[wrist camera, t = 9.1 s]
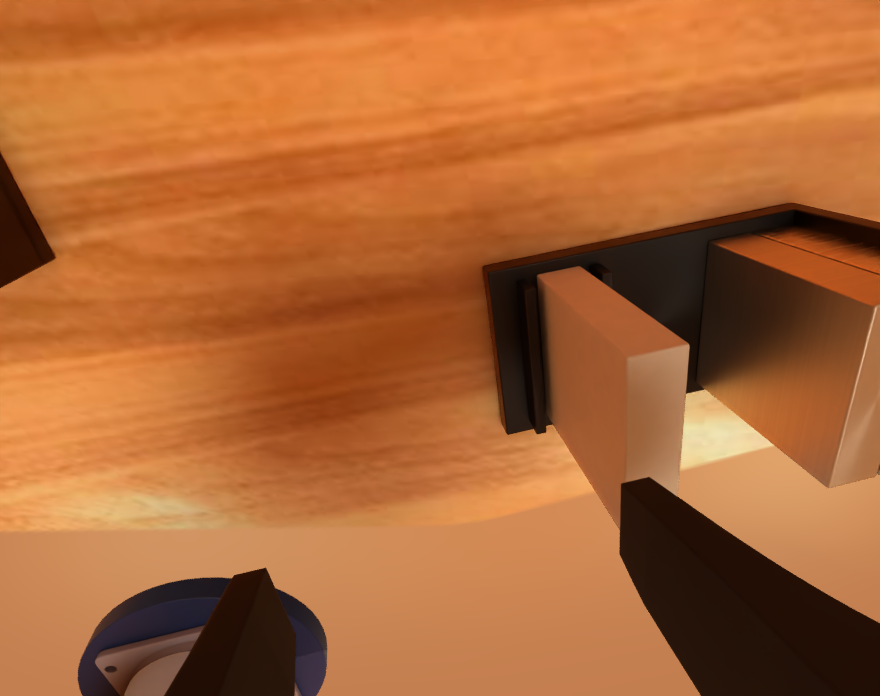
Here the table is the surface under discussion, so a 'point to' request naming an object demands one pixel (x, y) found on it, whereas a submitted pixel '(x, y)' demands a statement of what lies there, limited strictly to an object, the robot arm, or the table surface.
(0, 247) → the black bookend
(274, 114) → the table surface
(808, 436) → the black rack
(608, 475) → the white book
